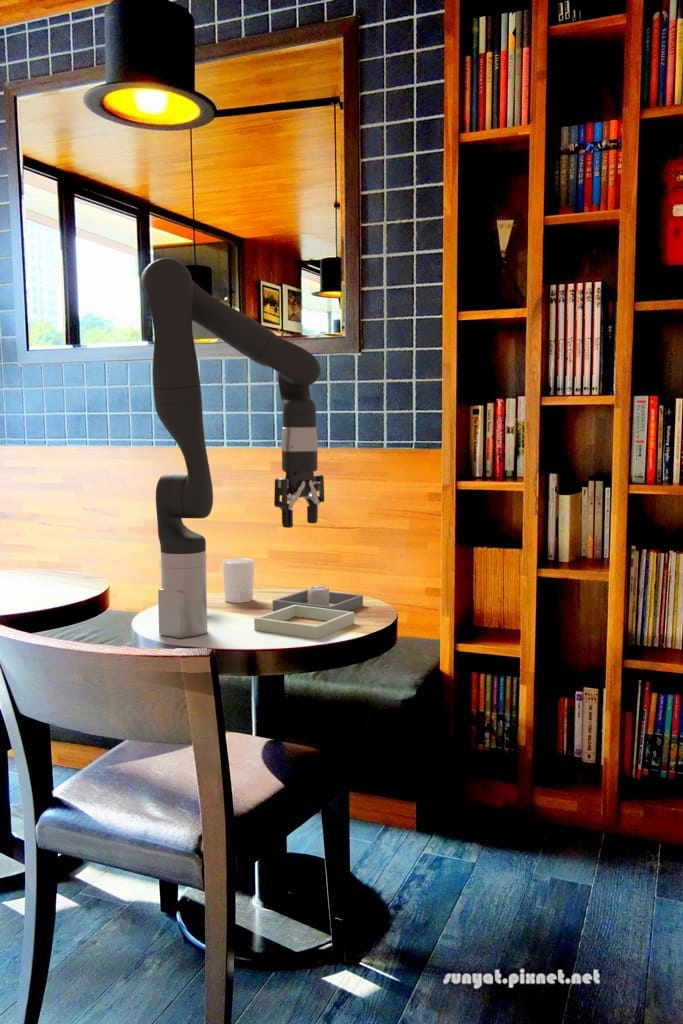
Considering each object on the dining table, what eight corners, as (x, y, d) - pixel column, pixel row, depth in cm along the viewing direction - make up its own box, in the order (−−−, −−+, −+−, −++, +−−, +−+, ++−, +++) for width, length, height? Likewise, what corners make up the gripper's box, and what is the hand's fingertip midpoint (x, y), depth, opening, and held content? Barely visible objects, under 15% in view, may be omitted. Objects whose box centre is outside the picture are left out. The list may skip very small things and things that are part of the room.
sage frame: (317, 639, 166) (317, 626, 166) (254, 629, 174) (254, 618, 174) (354, 623, 180) (354, 612, 180) (294, 615, 188) (294, 604, 187)
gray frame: (330, 618, 185) (330, 607, 184) (272, 610, 192) (272, 600, 192) (362, 605, 198) (362, 595, 198) (308, 599, 206) (308, 589, 206)
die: (329, 610, 193) (329, 589, 192) (308, 611, 193) (308, 590, 192) (328, 606, 198) (328, 585, 197) (307, 606, 198) (307, 586, 197)
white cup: (256, 597, 208) (256, 558, 207) (252, 603, 200) (252, 563, 199) (225, 597, 208) (225, 558, 207) (220, 603, 200) (219, 563, 200)
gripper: (292, 450, 165) (293, 530, 167) (333, 448, 177) (334, 522, 178) (263, 449, 169) (265, 527, 171) (305, 447, 181) (306, 520, 183)
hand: (300, 525), depth 175 cm, fingers open, 8 cm apart
